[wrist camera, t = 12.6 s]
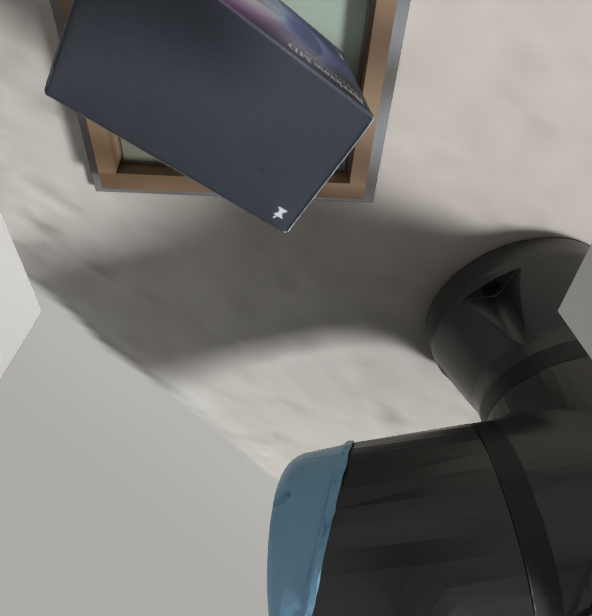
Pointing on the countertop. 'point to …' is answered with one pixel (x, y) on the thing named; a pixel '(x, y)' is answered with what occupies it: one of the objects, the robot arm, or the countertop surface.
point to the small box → (216, 94)
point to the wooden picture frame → (365, 68)
